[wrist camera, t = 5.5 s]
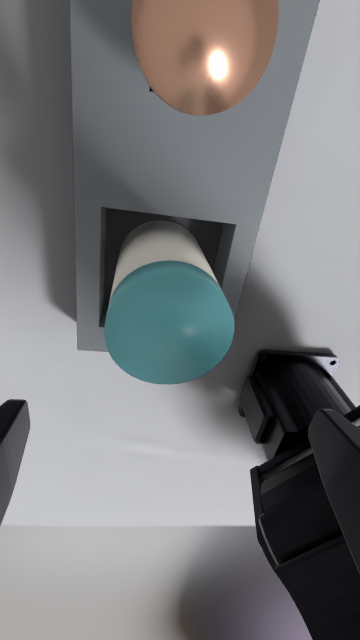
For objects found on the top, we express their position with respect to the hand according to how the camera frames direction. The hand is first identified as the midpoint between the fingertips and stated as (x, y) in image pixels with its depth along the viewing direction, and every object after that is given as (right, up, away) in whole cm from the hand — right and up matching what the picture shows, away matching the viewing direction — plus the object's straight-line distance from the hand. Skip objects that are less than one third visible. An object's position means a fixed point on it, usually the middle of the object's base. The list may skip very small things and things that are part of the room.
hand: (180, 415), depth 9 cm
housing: (-1, +9, +8) cm, 13 cm away
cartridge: (-1, +6, +10) cm, 12 cm away
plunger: (0, +14, +6) cm, 15 cm away
